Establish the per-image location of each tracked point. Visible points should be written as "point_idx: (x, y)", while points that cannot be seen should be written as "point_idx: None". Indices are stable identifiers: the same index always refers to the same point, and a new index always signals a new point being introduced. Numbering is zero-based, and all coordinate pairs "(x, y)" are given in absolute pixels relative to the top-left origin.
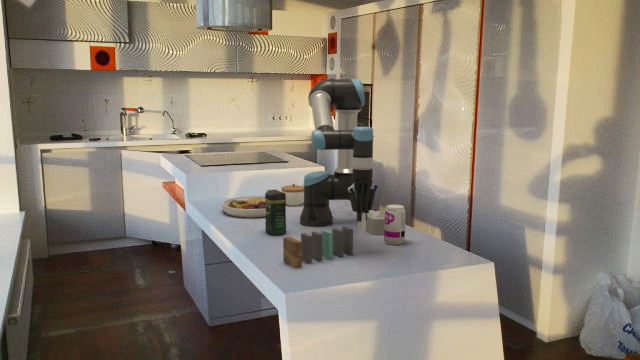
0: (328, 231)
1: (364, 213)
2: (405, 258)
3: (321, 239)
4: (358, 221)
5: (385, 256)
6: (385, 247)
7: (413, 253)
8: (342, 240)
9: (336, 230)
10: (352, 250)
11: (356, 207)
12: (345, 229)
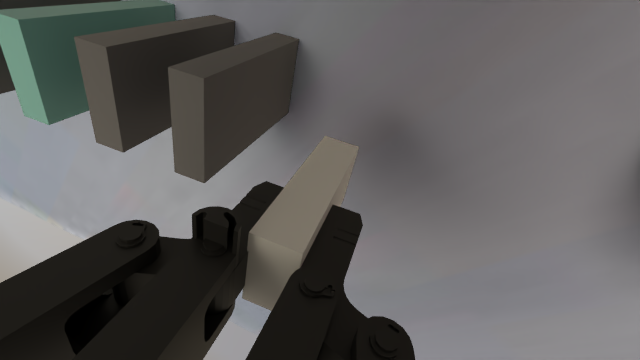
0: (28, 79)
1: (270, 308)
2: (419, 304)
3: (12, 87)
4: (299, 171)
5: (385, 236)
6: (550, 168)
7: (518, 312)
8: (168, 125)
9: (89, 102)
10: (274, 121)
11: (88, 335)
12: (178, 114)
